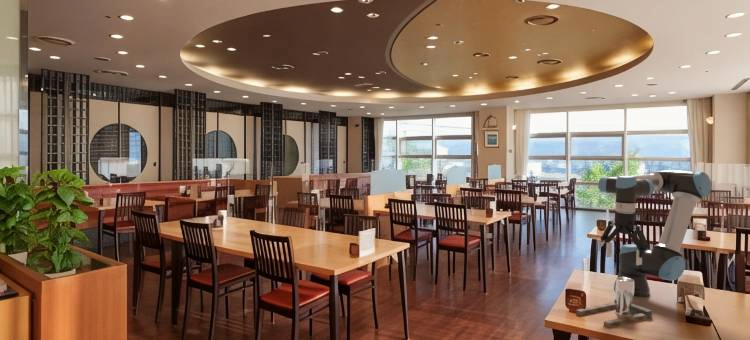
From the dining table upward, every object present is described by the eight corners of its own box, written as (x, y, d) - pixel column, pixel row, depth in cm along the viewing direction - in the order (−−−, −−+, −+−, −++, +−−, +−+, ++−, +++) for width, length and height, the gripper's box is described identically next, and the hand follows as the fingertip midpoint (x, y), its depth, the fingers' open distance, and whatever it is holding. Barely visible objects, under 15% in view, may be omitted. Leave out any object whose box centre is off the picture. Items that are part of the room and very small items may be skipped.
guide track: (618, 305, 195) (619, 298, 195) (651, 317, 182) (652, 310, 181) (576, 313, 184) (576, 307, 184) (608, 328, 171) (608, 320, 170)
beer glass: (635, 317, 181) (637, 282, 180) (617, 316, 183) (619, 281, 182) (629, 311, 188) (631, 277, 187) (611, 309, 190) (613, 276, 189)
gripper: (593, 208, 196) (591, 254, 197) (649, 217, 173) (647, 269, 175) (604, 207, 199) (602, 252, 201) (660, 215, 177) (658, 267, 178)
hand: (623, 260), depth 188 cm, fingers open, 13 cm apart
